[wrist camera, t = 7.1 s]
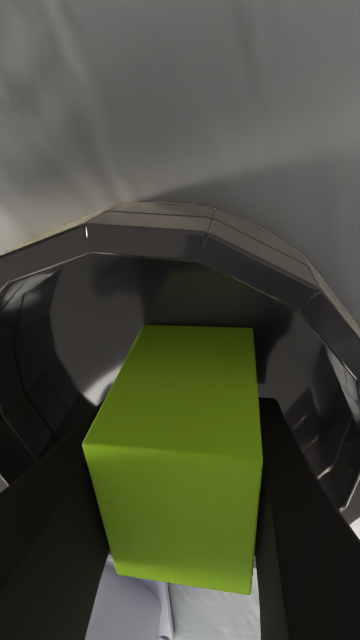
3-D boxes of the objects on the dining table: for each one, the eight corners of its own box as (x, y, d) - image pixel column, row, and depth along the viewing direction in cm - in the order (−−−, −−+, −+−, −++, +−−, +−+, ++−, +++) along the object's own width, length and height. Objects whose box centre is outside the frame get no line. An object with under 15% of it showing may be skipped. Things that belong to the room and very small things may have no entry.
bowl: (427, 410, 10) (490, 501, 8) (166, 520, 15) (151, 598, 13) (175, 88, 7) (140, 60, 5) (-49, 351, 12) (-126, 408, 10)
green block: (246, 441, 11) (250, 596, 8) (156, 433, 12) (116, 575, 8) (253, 326, 9) (263, 460, 5) (143, 323, 10) (80, 443, 6)
